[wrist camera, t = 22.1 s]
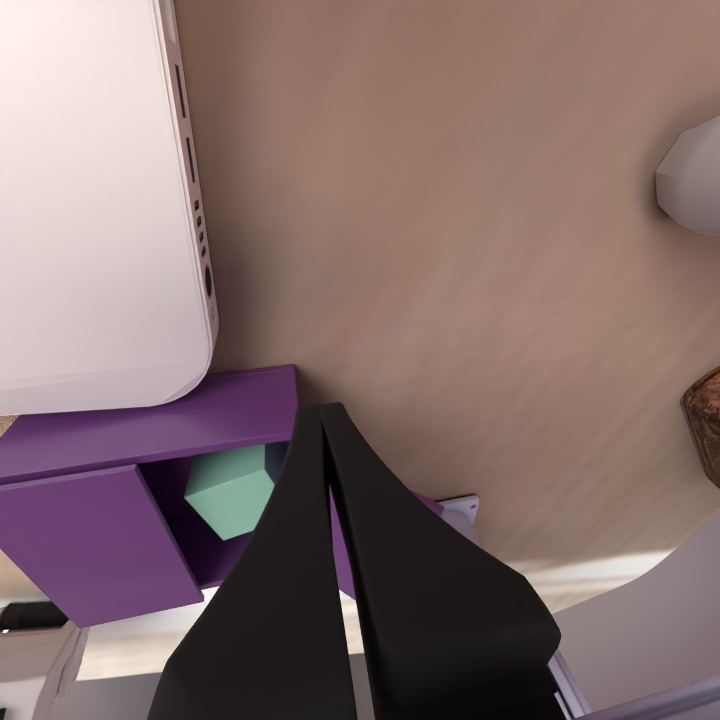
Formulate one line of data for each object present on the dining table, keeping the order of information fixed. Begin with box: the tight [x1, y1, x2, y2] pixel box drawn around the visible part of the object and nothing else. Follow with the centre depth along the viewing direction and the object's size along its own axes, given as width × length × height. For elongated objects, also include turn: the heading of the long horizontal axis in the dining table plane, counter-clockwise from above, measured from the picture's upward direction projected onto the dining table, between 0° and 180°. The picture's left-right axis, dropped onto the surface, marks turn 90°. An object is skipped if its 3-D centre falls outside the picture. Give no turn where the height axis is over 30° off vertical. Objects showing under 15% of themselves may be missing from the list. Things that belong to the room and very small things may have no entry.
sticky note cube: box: [184, 441, 287, 540], centre depth 21 cm, size 4×4×4 cm
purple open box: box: [0, 364, 300, 629], centre depth 20 cm, size 13×11×6 cm
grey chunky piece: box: [0, 602, 90, 720], centre depth 24 cm, size 6×7×10 cm
